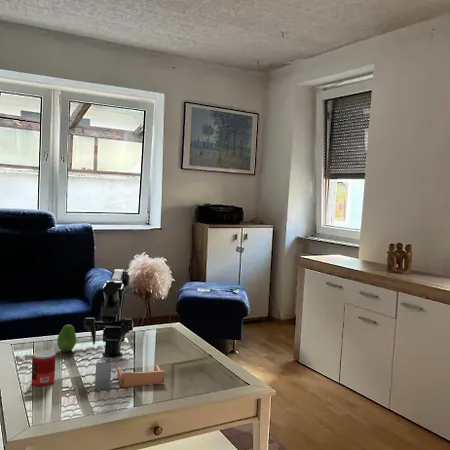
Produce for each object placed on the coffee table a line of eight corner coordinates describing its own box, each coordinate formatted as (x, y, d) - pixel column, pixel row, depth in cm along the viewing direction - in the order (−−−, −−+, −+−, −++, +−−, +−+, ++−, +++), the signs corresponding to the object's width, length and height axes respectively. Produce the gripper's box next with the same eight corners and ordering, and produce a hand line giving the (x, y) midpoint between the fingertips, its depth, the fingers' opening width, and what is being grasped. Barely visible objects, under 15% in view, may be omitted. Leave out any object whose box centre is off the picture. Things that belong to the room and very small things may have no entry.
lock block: (96, 383, 174) (98, 357, 174) (110, 384, 175) (111, 357, 174) (94, 389, 169) (96, 362, 169) (108, 389, 170) (110, 362, 169)
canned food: (58, 380, 175) (60, 352, 174) (43, 388, 167) (45, 358, 166) (41, 377, 177) (43, 348, 176) (26, 384, 170) (27, 354, 169)
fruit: (78, 351, 206) (80, 325, 206) (62, 355, 201) (63, 328, 200) (69, 347, 212) (71, 321, 211) (53, 350, 206) (54, 323, 205)
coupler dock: (117, 374, 184) (118, 362, 184) (157, 372, 189) (158, 360, 189) (121, 387, 173) (121, 374, 172) (163, 384, 178) (164, 371, 178)
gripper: (84, 297, 182) (78, 334, 173) (133, 298, 184) (129, 335, 174) (88, 311, 191) (82, 347, 181) (134, 312, 193) (131, 348, 183)
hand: (106, 344), depth 180 cm, fingers open, 9 cm apart
